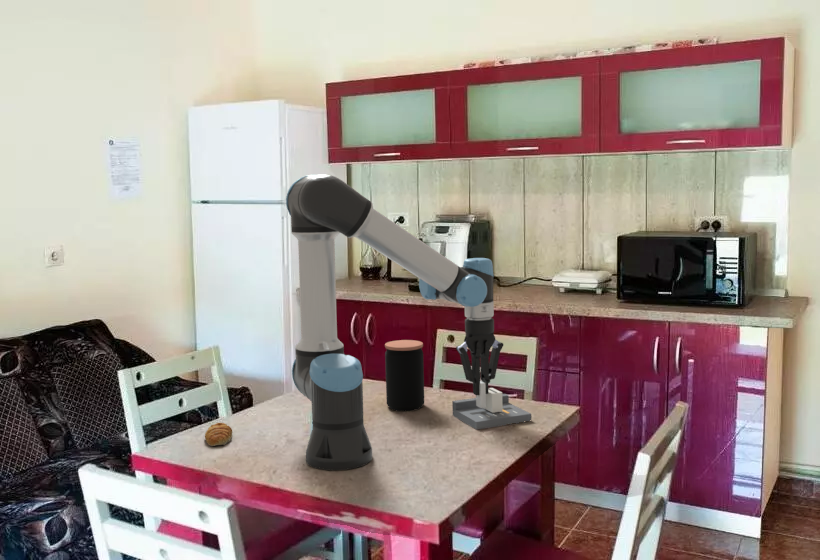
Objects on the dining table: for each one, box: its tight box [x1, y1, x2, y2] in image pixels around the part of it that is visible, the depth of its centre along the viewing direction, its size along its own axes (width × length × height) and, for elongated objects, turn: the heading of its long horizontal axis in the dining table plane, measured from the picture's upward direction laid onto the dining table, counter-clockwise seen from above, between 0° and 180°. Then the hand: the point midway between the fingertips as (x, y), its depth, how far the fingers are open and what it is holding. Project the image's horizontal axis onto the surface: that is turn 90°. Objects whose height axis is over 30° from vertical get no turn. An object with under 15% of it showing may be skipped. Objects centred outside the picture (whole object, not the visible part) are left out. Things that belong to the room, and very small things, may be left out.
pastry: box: [204, 422, 234, 447], centre depth 203 cm, size 9×7×4 cm
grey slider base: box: [452, 393, 532, 431], centre depth 216 cm, size 16×14×4 cm
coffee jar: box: [384, 339, 425, 412], centre depth 229 cm, size 11×11×18 cm
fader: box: [484, 387, 503, 413], centre depth 216 cm, size 3×6×5 cm, turn 22°
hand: (481, 406), depth 215 cm, fingers closed
